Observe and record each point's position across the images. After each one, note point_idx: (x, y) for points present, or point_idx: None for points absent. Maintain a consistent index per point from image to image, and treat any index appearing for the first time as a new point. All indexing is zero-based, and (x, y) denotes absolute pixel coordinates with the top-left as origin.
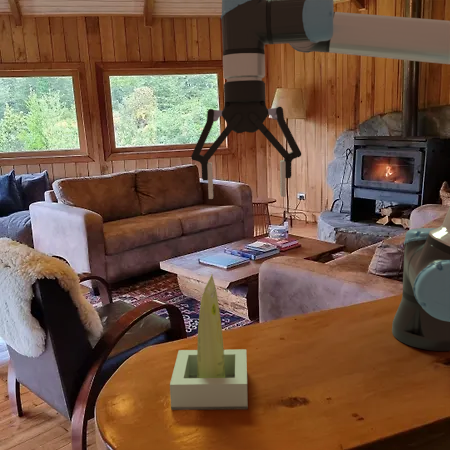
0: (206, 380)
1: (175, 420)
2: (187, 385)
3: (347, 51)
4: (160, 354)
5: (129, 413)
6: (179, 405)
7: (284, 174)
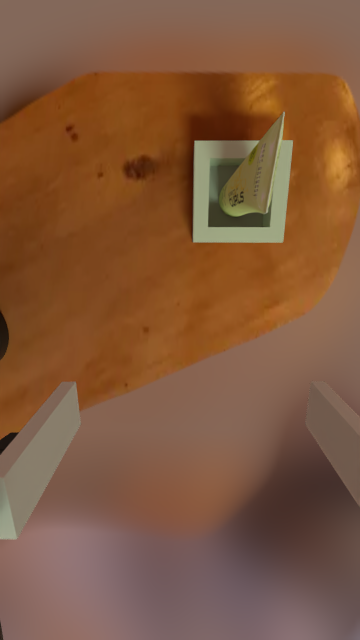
0: (246, 151)
1: None
2: None
3: None
4: (298, 291)
5: (329, 143)
6: None
7: (25, 431)
